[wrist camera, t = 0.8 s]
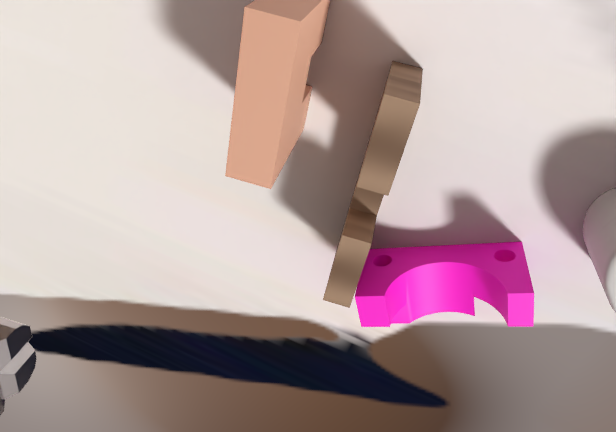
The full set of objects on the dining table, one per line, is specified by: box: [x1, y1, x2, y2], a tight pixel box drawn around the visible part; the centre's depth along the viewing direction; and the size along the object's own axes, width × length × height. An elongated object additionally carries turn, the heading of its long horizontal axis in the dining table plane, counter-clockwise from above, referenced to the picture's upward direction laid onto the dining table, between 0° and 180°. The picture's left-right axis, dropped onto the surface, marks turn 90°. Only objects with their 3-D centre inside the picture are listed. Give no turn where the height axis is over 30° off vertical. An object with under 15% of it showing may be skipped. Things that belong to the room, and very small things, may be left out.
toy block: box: [355, 242, 534, 327], centre depth 48 cm, size 15×6×8 cm, turn 102°
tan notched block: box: [225, 0, 330, 189], centre depth 38 cm, size 4×12×11 cm, turn 169°
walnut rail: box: [323, 61, 423, 308], centre depth 43 cm, size 20×2×8 cm, turn 169°
